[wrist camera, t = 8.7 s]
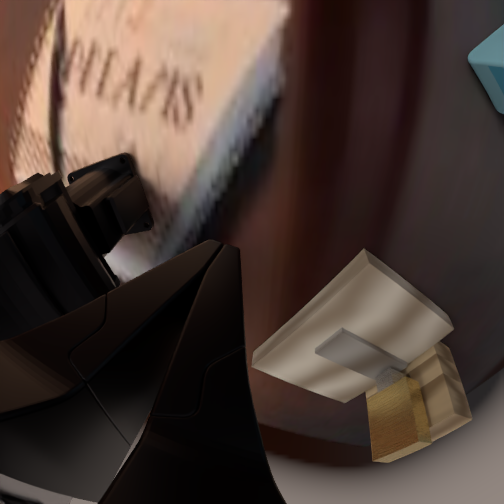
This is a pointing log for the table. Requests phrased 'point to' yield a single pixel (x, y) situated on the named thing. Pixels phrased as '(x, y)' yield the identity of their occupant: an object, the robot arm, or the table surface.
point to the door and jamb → (369, 343)
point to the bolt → (397, 417)
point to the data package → (491, 66)
